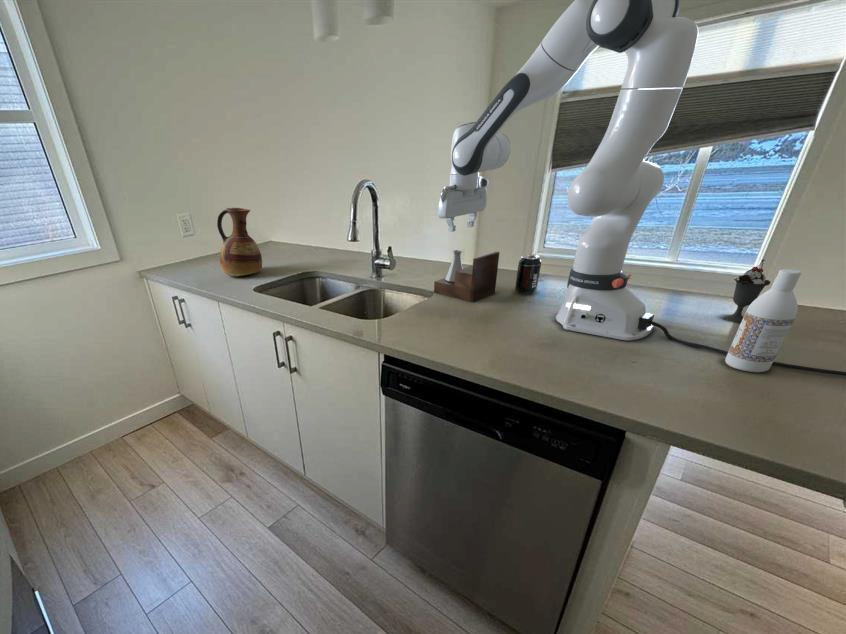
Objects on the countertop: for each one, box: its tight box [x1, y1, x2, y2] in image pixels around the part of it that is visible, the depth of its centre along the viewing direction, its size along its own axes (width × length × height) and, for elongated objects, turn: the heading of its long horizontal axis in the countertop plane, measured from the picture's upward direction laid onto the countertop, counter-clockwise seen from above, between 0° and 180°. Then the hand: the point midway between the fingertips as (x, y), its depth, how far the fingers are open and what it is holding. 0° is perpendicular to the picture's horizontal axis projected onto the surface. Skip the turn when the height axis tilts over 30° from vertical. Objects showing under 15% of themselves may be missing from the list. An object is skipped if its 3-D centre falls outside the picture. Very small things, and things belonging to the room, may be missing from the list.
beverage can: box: [514, 254, 542, 295], centre depth 134 cm, size 7×7×12 cm
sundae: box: [722, 259, 771, 323], centre depth 101 cm, size 7×7×15 cm
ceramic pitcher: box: [216, 207, 263, 277], centre depth 188 cm, size 20×20×30 cm
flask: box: [445, 249, 464, 282], centre depth 141 cm, size 7×7×10 cm
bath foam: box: [724, 268, 802, 373], centre depth 80 cm, size 7×7×20 cm
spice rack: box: [433, 251, 500, 303], centre depth 139 cm, size 17×12×14 cm
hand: (461, 229), depth 135 cm, fingers open, 8 cm apart
